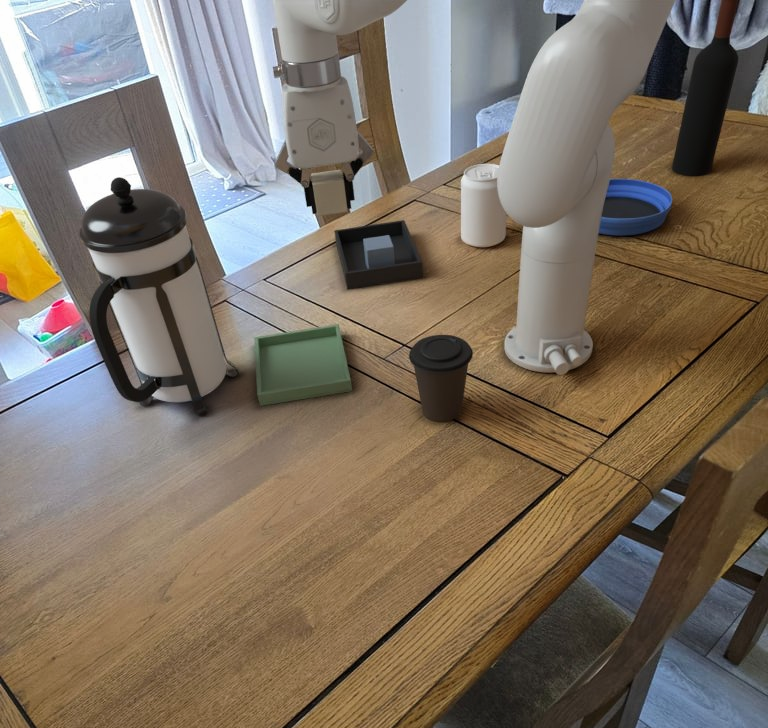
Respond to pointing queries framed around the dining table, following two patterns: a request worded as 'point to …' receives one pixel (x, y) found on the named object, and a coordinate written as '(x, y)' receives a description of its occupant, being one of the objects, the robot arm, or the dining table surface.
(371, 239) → the bluegrey block
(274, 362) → the dish
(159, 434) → the dining table surface
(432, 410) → the coffee cup
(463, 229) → the beverage can
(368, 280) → the black tray
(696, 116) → the wine bottle
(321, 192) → the cream block
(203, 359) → the coffee press
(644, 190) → the bowl
